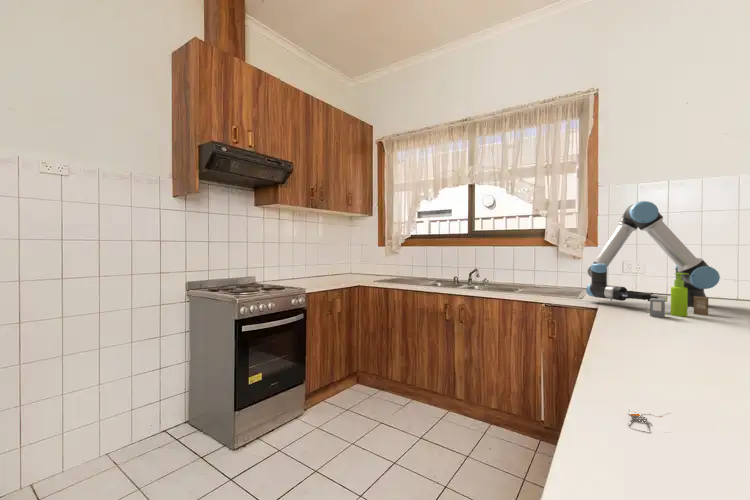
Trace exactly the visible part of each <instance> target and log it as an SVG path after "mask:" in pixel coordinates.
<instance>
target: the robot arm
mask: <svg viewBox="0 0 750 500" xmlns="http://www.w3.org/2000/svg"><path fill="white" fill-rule="evenodd" d="M625 209H626V210H625V211H624V213H623V215H622V216H621V218H620V219H619V221H618V226H617V228H616V229H615V230H614V232H613V233H612V235H611V236H610V238H609V239H608V241H607V243H605V245H604V247H603V248H602V249H601V251H600V252H599V254H597V257H596V258H595V260H594V261H593V263H592V264H591V265H590V266H589V267H588V269H587V275H588V276H589V277H590V278H591V282H590V283H589V284H587V285H586V289H585V291H586V294H587V295H588V296H589V297H594V298H596V299H597V298H599V299H607V300H610V301H613V300H616V301H622V302H624V301H626V300H629V299H632V300H634V299H635V300H642V301H643V300H644V301H646V300H647V302H650V299H651V298H657V299H665V302H666V303H668V295H662V294H661V295H660V294H654V293H653V292H651V293H648V292H641V291H634V290H628V289H627V288H626V287H625V286H618V285H608V267H609V266H610V264H611V263H612V262H613V260H614V259H615V257H616V256H617V254H618V253H619V251H620V250H621V248H622V247H623V246H624V244H625V242H626V241H627V240H628V239H629V237H630V236H631V235H632V233H634V232H636V231H637V229H639V230H640V231H645V232H646V233H647V234H648V235H649V236H650V237H651V239H652V240H653V241H654V242H655V243H656V244H657V245H658V247H660V249H662V251H664V253H665V254H666V255H667V256H668V257H669V258H670V259H671V260H672V262H673V263H674V264H675V269H674V270H675V273H688V274H689V275H685V274H682V280H684V287H686V288H688V291H687V307H694V296H697V297H707V295H706V294H705V290H707V289H712V288H714V287H716V285H718V283H720V282H719V281H720V279H721V276H720V273H719V271H718V270H717V269H716V268H714V267H712V266H709V264H708V263H707V262H705V260H704V259H703V258H701V257H696V256H695V255H694V253H692V252H691V251H690V249H688V247H687V246H686V245H685V244H684V243H683V242H682V241H681V240H680V238H679V237H677V235H676V234H675V233H674V232H673V231H672V230H671V229H670V228H669V226H668V225H666V224H665V222H663V220H664V216H663V215H662V214H661V213H660V212H659V208H658V207H657V205H656V204H655V203H654V202H652V201H646V200H642V201H638V202H634V203H633V204H630V206H628V207H627V208H625ZM676 279H677V274H675V280H676Z"/></svg>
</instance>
